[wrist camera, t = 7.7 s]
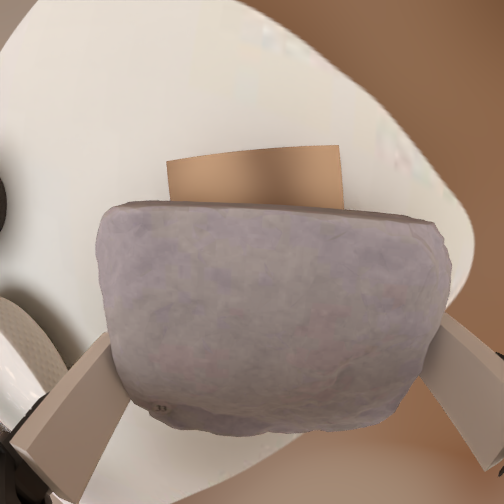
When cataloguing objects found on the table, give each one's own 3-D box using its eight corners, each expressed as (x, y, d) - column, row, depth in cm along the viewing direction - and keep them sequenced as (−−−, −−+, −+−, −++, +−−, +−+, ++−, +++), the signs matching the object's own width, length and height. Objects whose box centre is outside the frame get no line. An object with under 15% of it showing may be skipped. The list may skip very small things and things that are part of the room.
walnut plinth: (216, 374, 21) (209, 407, 18) (184, 165, 18) (166, 161, 14) (327, 364, 21) (339, 396, 17) (321, 153, 17) (338, 145, 14)
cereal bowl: (113, 347, 21) (74, 397, 14) (84, 431, 25) (61, 470, 18) (-8, 247, 19) (-56, 265, 13) (-12, 352, 23) (-42, 376, 16)
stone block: (369, 371, 14) (419, 194, 10) (389, 440, 10) (492, 240, 6) (159, 362, 15) (126, 182, 10) (133, 431, 10) (50, 223, 6)
